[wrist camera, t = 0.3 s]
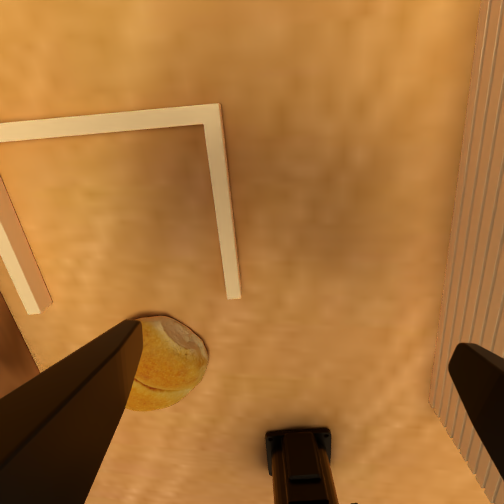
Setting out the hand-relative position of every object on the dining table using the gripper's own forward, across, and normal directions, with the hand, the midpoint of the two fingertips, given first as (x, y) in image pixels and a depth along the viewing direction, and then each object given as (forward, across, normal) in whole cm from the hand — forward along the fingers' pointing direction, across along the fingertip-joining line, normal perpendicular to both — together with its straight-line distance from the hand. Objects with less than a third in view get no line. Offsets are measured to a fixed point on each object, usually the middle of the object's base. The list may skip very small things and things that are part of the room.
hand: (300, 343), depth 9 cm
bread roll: (+15, +8, +14) cm, 22 cm away
